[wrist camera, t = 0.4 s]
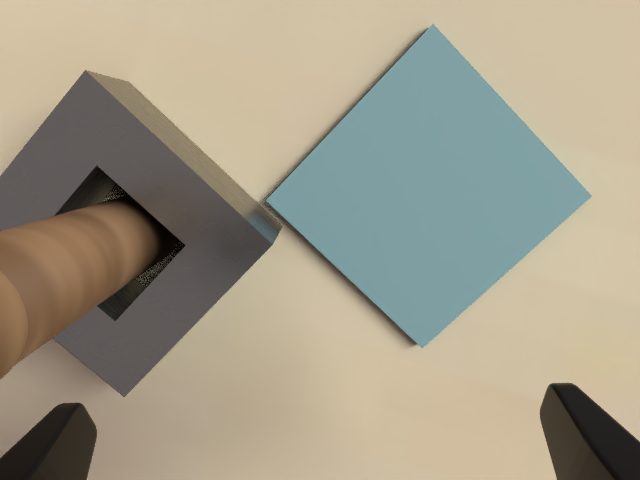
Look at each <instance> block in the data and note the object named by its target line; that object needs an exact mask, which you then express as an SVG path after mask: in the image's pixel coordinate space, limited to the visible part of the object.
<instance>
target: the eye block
mask: <svg viewBox="0 0 640 480" xmlns="http://www.w3.org/2000/svg"><path fill="white" fill-rule="evenodd" d="M116 184H118V185H119V186H120V187H121V188H122V189H124V190H125V191H126V192H127V193H128V194H129V195H130V196H131V197H132V198H134V199H135V200H136V201H137V202H138V203H139V204H140V205H141V206H142V207H144V208H145V209H146V210H147V211H148V212H149V213H150V214H151V215H152V216H154V217H155V218H156V219H157V220H158V221H159V222H160V223H161V224H162V225H164V226H165V227H166V228H167V229H168V230H169V231H170V232H171V233H172V234H174V235H175V236H176V237H177V238H178V239H179V240H180V241H181V242H182V243H184V244H185V245H186V246H185V247H184V248H183V249H182V250H181V251H180V252H179V253H178V254H177V255H176V256H175V258H174V259H173V260H172V261H171V262H170V263H169V264H168V265H167V266H166V267H165V268H164V269H163V270H162V272H161V273H160V274H159V275H158V276H157V277H156V278H155V279H154V280H153V281H152V282H151V283H150V284H149V286H148V287H147V288H145V287H144V286H143V285H141V284H140V283H139V282H138V281H137V280H136V279H134V280H132V281H131V282H130V283H128V284H127V285H125V286H124V287H123V288H121V289H120V290H118V291H117V292H116V293H114V294H113V295H111V296H110V297H109V298H107V299H106V300H104V301H103V302H102V303H100V304H99V305H97V306H96V307H95V308H93V309H92V310H90V311H89V312H88V313H86V314H85V315H84V316H82V317H81V318H79V319H78V320H77V321H75V322H74V323H72V324H71V325H70V326H68V327H67V328H65V329H64V330H63V331H61V332H60V333H58V334H57V335H56V336H54V337H53V339H54V340H55V341H57V342H58V343H59V344H60V345H61V346H63V347H64V348H65V349H66V350H68V351H69V352H70V353H71V354H72V355H74V356H75V357H76V358H77V359H78V360H80V361H81V362H82V363H83V364H85V365H86V366H87V367H88V368H89V369H91V370H92V371H93V372H94V373H95V374H97V375H98V376H99V377H100V378H102V379H103V380H104V381H105V382H106V383H108V384H109V385H110V386H111V387H112V388H114V389H115V390H116V391H117V392H119V393H120V394H121V395H122V396H123V397H125V396H126V395H127V394H128V393H129V392H130V391H131V390H132V389H133V388H134V387H135V385H136V384H137V383H138V382H139V381H140V380H141V379H142V378H143V377H144V376H145V375H146V374H147V373H148V372H149V371H150V370H151V369H152V368H153V367H154V366H155V365H156V364H157V363H158V362H159V361H160V360H161V359H162V358H163V357H164V356H165V355H166V354H167V353H168V352H169V351H170V350H171V348H172V347H173V346H174V345H175V344H176V343H177V342H178V341H179V340H180V339H181V338H182V337H183V336H184V335H185V334H186V333H187V332H188V331H189V330H190V329H191V328H192V327H193V326H194V325H195V324H196V323H197V322H198V321H199V320H200V319H201V318H202V317H203V316H204V315H205V314H206V313H207V311H208V310H209V309H210V308H211V307H212V306H213V305H214V304H215V303H216V302H217V301H218V300H219V299H220V298H221V297H222V296H223V295H224V294H225V293H226V292H227V291H228V290H229V289H230V288H231V287H232V286H233V285H234V284H235V283H236V282H237V281H238V280H239V279H240V278H241V277H242V276H243V274H244V273H245V272H246V271H247V270H248V269H249V268H250V267H251V266H252V265H253V264H254V263H255V262H256V261H257V260H258V259H259V258H260V257H261V256H262V255H263V254H264V253H265V252H266V251H267V250H268V249H269V248H270V247H271V246H272V245H273V243H274V241H275V239H276V238H277V236H278V234H279V232H280V230H281V229H282V226H281V225H280V224H279V223H278V222H277V221H276V220H275V219H274V218H273V217H272V216H271V215H270V214H269V213H268V212H266V211H265V210H264V209H263V208H262V207H261V206H260V205H259V204H258V203H257V202H256V201H255V200H254V199H253V198H252V197H251V196H249V195H248V194H247V193H246V192H245V191H244V190H243V189H242V188H241V187H240V186H239V185H238V184H237V183H236V182H235V181H234V180H232V179H231V178H230V177H229V176H228V175H227V174H226V173H225V172H224V171H223V170H222V169H221V168H220V167H219V166H218V165H217V164H215V163H214V162H213V161H212V160H211V159H210V158H209V157H208V156H207V155H206V154H205V153H204V152H203V151H202V150H201V149H200V148H199V147H197V146H196V145H195V144H194V143H193V142H192V141H191V140H190V139H189V138H188V137H187V136H186V135H185V134H184V133H183V132H182V131H180V130H179V129H178V128H177V127H176V126H175V125H174V124H173V123H172V122H171V121H170V120H169V119H168V118H167V117H166V116H165V115H163V114H162V113H161V112H160V111H159V110H158V109H157V108H156V107H155V106H154V105H153V104H152V103H151V102H150V101H149V100H148V99H146V98H145V97H144V96H143V95H142V94H141V93H140V92H139V91H138V90H137V89H136V88H135V87H134V86H133V85H132V84H131V83H129V82H127V81H123V80H120V79H116V78H112V77H109V76H105V75H101V74H98V73H94V72H90V71H87V70H85V71H84V72H83V74H82V75H81V76H80V77H79V79H78V80H77V81H76V82H75V84H74V85H73V86H72V87H71V89H70V90H69V91H68V92H67V94H66V95H65V96H64V97H63V99H62V100H61V101H60V102H59V104H58V105H57V106H56V107H55V109H54V110H53V111H52V112H51V114H50V115H49V116H48V117H47V119H46V120H45V121H44V122H43V124H42V125H41V126H40V127H39V129H38V130H37V131H36V132H35V134H34V135H33V136H32V137H31V139H30V140H29V141H28V143H27V144H26V145H25V146H24V148H23V149H22V150H21V151H20V153H19V154H18V155H17V156H16V158H15V159H14V160H13V161H12V163H11V164H10V165H9V166H8V168H7V169H6V170H5V171H4V173H3V174H2V175H1V176H0V231H3V230H6V229H10V228H13V227H17V226H20V225H24V224H27V223H31V222H35V221H38V220H42V219H45V218H49V217H52V216H56V215H59V214H63V213H66V212H70V211H73V210H77V209H80V208H84V207H87V206H91V205H95V204H98V203H101V201H102V200H103V199H104V198H105V197H106V196H107V194H108V193H109V192H110V191H111V190H112V189H113V188H114V186H115V185H116Z"/></svg>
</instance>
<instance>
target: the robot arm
mask: <svg viewBox="0 0 640 480" xmlns="http://www.w3.org/2000/svg"><path fill="white" fill-rule="evenodd" d="M540 420H541V424H542V427H543V431H544V435H545V438H546V442H547V445H548V449H549V452H550V456H551V459H552V463H553V467H554V470H555V474H556V477H557V480H640V442H639V441H638V440H637V439H636V438H635V437H634V436H633V435H632V434H630V433H629V432H628V431H627V430H626V429H625V428H624V427H622V426H621V425H620V424H619V423H618V422H617V421H616V420H615V419H613V418H612V417H611V416H610V415H609V414H608V413H607V412H606V411H604V410H603V409H602V408H601V407H600V406H599V405H598V404H596V403H595V402H594V401H593V400H592V399H591V398H590V397H589V396H587V395H586V394H585V393H584V392H583V391H582V390H581V389H579V388H578V387H577V386H576V385H574V384H572V383H552V384H550V385H549V386H548V388H547V390H546V393H545V396H544V399H543V402H542V405H541V408H540ZM96 438H97V429H96V426H95V424H94V422H93V420H92V419H91V417H90V415H89V413H88V412H87V410H86V408H85V407H84V405H83V404H81V403H63V404H60V405H58V406H56V407H55V408H54V409H53V410H52V411H50V412H49V413H48V414H47V415H46V416H45V417H44V418H43V419H42V420H41V421H40V422H39V423H38V424H37V425H35V426H34V427H33V428H32V429H31V430H30V431H29V432H28V433H27V434H26V435H25V436H24V437H23V438H22V439H20V440H19V441H18V442H17V443H16V444H15V445H14V446H13V447H12V448H11V449H10V450H9V451H8V452H6V453H5V454H4V455H3V456H2V457H1V458H0V480H87V476H88V472H89V468H90V464H91V459H92V455H93V451H94V447H95V442H96Z"/></svg>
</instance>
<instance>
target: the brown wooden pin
mask: <svg viewBox="0 0 640 480" xmlns="http://www.w3.org/2000/svg"><path fill="white" fill-rule="evenodd" d="M177 240H178V238H177V237H176V236H175V235H174V234H172V233H171V232H170V231H169V230H168V229H167V228H166V227H165V226H164V225H162V224H161V223H160V222H159V221H158V220H157V219H156V218H155V217H154V216H152V215H151V214H150V213H149V212H148V211H147V210H146V209H145V208H144V207H142V206H141V205H140V204H139V203H138V202H137V201H136V200H135V199H134V198H132V197H131V196H130V195H126V196H123V197H119V198H116V199H112V200H109V201H105V202H102V203H98V204H95V205H91V206H87V207H84V208H80V209H77V210H73V211H70V212H66V213H63V214H59V215H56V216H52V217H49V218H45V219H42V220H38V221H35V222H31V223H27V224H24V225H20V226H17V227H13V228H10V229H6V230H3V231H0V379H2V378H3V377H4V376H5V375H6V374H7V373H8V372H9V371H10V369H11V368H12V367H13V366H14V365H15V364H17V363H18V362H19V361H21V360H22V359H24V358H25V357H26V356H28V355H29V354H31V353H32V352H33V351H35V350H36V349H38V348H39V347H40V346H42V345H43V344H44V343H46V342H47V341H49V340H50V339H51V338H53V337H54V336H56V335H57V334H58V333H60V332H61V331H63V330H64V329H65V328H67V327H68V326H70V325H71V324H72V323H74V322H75V321H77V320H78V319H79V318H81V317H82V316H84V315H85V314H86V313H88V312H89V311H90V310H92V309H93V308H95V307H96V306H97V305H99V304H100V303H102V302H103V301H104V300H106V299H107V298H109V297H110V296H111V295H113V294H114V293H116V292H117V291H118V290H120V289H121V288H123V287H124V286H125V285H127V284H128V283H130V282H131V281H132V280H134V279H135V278H136V277H138V276H139V275H141V274H142V273H143V272H145V271H146V270H148V269H149V268H150V267H152V266H153V265H155V264H156V263H157V262H159V261H160V260H162V259H163V258H164V257H166V256H167V255H168V254H169V253H170V252H171V251H172V250H173V249H174V247H175V245H176V243H177Z"/></svg>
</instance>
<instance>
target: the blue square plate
mask: <svg viewBox="0 0 640 480" xmlns="http://www.w3.org/2000/svg"><path fill="white" fill-rule="evenodd" d="M590 197H591V195H590V194H589V192H588V191H587V190H586V189H585V188H584V187H583V186H582V185H581V184H580V183H579V182H578V181H577V179H576V178H575V177H574V176H573V175H572V174H571V173H570V172H569V171H568V170H567V169H566V168H565V166H564V165H563V164H562V163H561V162H560V161H559V160H558V159H557V158H556V157H555V156H554V154H553V153H552V152H551V151H550V150H549V149H548V148H547V147H546V146H545V145H544V144H543V143H542V141H541V140H540V139H539V138H538V137H537V136H536V135H535V134H534V133H533V132H532V131H531V130H530V128H529V127H528V126H527V125H526V124H525V123H524V122H523V121H522V120H521V119H520V118H519V117H518V115H517V114H516V113H515V112H514V111H513V110H512V109H511V108H510V107H509V106H508V105H507V104H506V102H505V101H504V100H503V99H502V98H501V97H500V96H499V95H498V94H497V93H496V92H495V90H494V89H493V88H492V87H491V86H490V85H489V84H488V83H487V82H486V81H485V80H484V79H483V77H482V76H481V75H480V74H479V73H478V72H477V71H476V70H475V69H474V68H473V67H472V66H471V64H470V63H469V62H468V61H467V60H466V59H465V58H464V57H463V56H462V55H461V54H460V53H459V51H458V50H457V49H456V48H455V47H454V46H453V45H452V44H451V43H450V42H449V41H448V40H447V38H446V37H445V36H444V35H443V34H442V33H441V32H440V31H439V30H438V29H437V28H436V27H435V25H434V24H432V25H431V26H430V28H429V29H428V30H427V31H426V32H425V33H424V34H423V35H422V36H421V37H420V38H419V39H418V40H417V41H416V42H415V43H414V44H413V45H412V47H411V48H410V49H409V50H408V51H407V52H406V53H405V54H404V55H403V56H402V57H401V58H400V59H399V60H398V61H397V62H396V63H395V64H394V66H393V67H392V68H391V69H390V70H389V71H388V72H387V73H386V74H385V75H384V76H383V77H382V78H381V79H380V80H379V81H378V82H377V83H376V85H375V86H374V87H373V88H372V89H371V90H370V91H369V92H368V93H367V94H366V95H365V96H364V97H363V98H362V99H361V100H360V101H359V102H358V104H357V105H356V106H355V107H354V108H353V109H352V110H351V111H350V112H349V113H348V114H347V115H346V116H345V117H344V118H343V119H342V120H341V121H340V123H339V124H338V125H337V126H336V127H335V128H334V129H333V130H332V131H331V132H330V133H329V134H328V135H327V136H326V137H325V138H324V139H323V140H322V142H321V143H320V144H319V145H318V146H317V147H316V148H315V149H314V150H313V151H312V152H311V153H310V154H309V155H308V156H307V157H306V158H305V159H304V161H303V162H302V163H301V164H300V165H299V166H298V167H297V168H296V169H295V170H294V171H293V172H292V173H291V174H290V175H289V176H288V177H287V178H286V180H285V181H284V182H283V183H282V184H281V185H280V186H279V187H278V188H277V189H276V190H275V191H274V192H273V193H272V194H271V195H270V196H269V197H268V199H267V200H266V201H267V202H268V203H269V204H270V205H271V206H272V207H273V208H274V209H275V210H276V211H277V212H278V213H280V214H281V215H282V216H283V217H284V218H285V219H286V220H287V221H288V222H289V223H290V224H291V225H292V226H293V227H294V228H295V229H296V230H297V231H299V232H300V233H301V234H302V235H303V236H304V237H305V238H306V239H307V240H308V241H309V242H310V243H311V244H312V245H313V246H314V247H315V248H317V249H318V250H319V251H320V252H321V253H322V254H323V255H324V256H325V257H326V258H327V259H328V260H329V261H330V262H331V263H332V264H333V265H335V266H336V267H337V268H338V269H339V270H340V271H341V272H342V273H343V274H344V275H345V276H346V277H347V278H348V279H349V280H350V281H351V282H352V283H354V284H355V285H356V286H357V287H358V288H359V289H360V290H361V291H362V292H363V293H364V294H365V295H366V296H367V297H368V298H369V299H370V300H372V301H373V302H374V303H375V304H376V305H377V306H378V307H379V308H380V309H381V310H382V311H383V312H384V313H385V314H386V315H387V316H388V317H390V318H391V319H392V320H393V321H394V322H395V323H396V324H397V325H398V326H399V327H400V328H401V329H402V330H403V331H404V332H405V333H406V334H407V335H409V336H410V337H411V338H412V339H413V340H414V341H415V342H416V343H417V344H418V345H419V346H420V347H421V348H423V347H424V346H426V345H427V344H428V343H429V342H430V341H431V340H432V339H433V338H434V337H436V336H437V335H438V334H439V333H440V332H441V331H442V330H443V329H444V328H446V327H447V326H448V325H449V324H450V323H451V322H452V321H453V320H454V319H456V318H457V317H458V316H459V315H460V314H461V313H462V312H463V311H464V310H466V309H467V308H468V307H469V306H470V305H471V304H472V303H473V302H475V301H476V300H477V299H478V298H479V297H480V296H481V295H482V294H483V293H485V292H486V291H487V290H488V289H489V288H490V287H491V286H492V285H493V284H495V283H496V282H497V281H498V280H499V279H500V278H501V277H502V276H503V275H505V274H506V273H507V272H508V271H509V270H510V269H511V268H512V267H514V266H515V265H516V264H517V263H518V262H519V261H520V260H521V259H522V258H524V257H525V256H526V255H527V254H528V253H529V252H530V251H531V250H532V249H534V248H535V247H536V246H537V245H538V244H539V243H540V242H541V241H542V240H544V239H545V238H546V237H547V236H548V235H549V234H550V233H551V232H552V231H554V230H555V229H556V228H557V227H558V226H559V225H560V224H561V223H563V222H564V221H565V220H566V219H567V218H568V217H569V216H570V215H571V214H573V213H574V212H575V211H576V210H577V209H578V208H579V207H580V206H581V205H583V204H584V203H585V202H586V201H587V200H588V199H589V198H590Z"/></svg>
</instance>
